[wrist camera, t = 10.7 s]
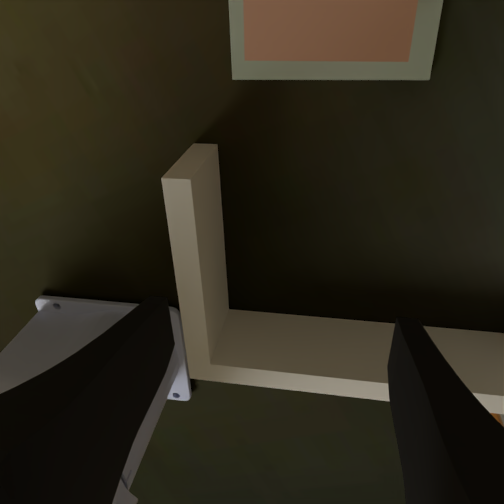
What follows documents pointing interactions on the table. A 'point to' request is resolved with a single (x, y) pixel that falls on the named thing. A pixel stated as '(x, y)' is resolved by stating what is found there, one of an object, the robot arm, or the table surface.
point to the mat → (341, 70)
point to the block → (328, 30)
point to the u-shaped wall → (288, 315)
